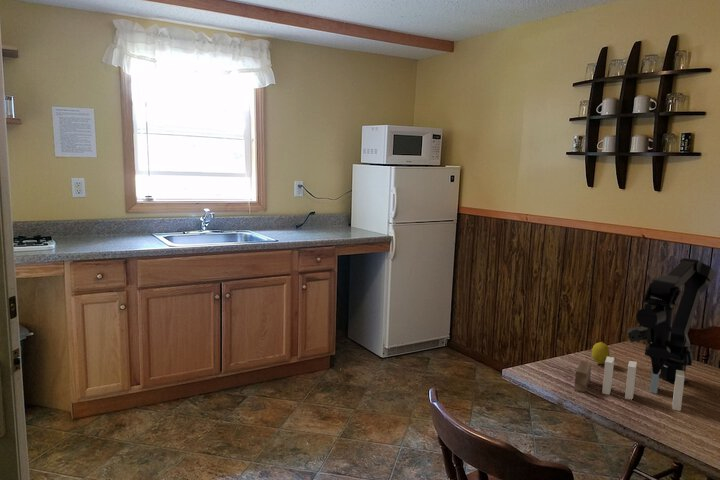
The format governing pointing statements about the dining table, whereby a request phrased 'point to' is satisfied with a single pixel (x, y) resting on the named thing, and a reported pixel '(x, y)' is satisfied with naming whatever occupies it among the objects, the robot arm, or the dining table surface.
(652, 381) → the blue domino
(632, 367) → the domino
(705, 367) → the dining table surface
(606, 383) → the domino
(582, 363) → the end block
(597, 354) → the lemon
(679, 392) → the domino
